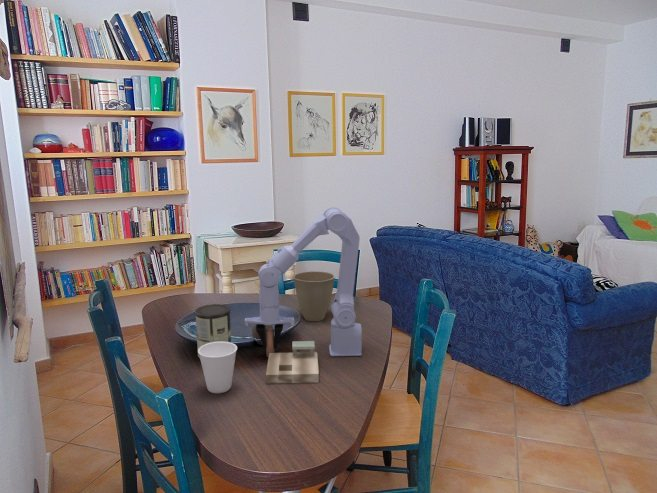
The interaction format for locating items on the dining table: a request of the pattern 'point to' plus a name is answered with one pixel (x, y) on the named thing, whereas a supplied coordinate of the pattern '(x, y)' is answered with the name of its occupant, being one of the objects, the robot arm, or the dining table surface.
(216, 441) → the dining table surface
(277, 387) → the dining table surface
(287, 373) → the socket board
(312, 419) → the dining table surface
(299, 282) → the plant pot
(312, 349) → the pale green box
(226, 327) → the coffee can
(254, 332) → the vase
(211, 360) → the cup
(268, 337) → the peg
